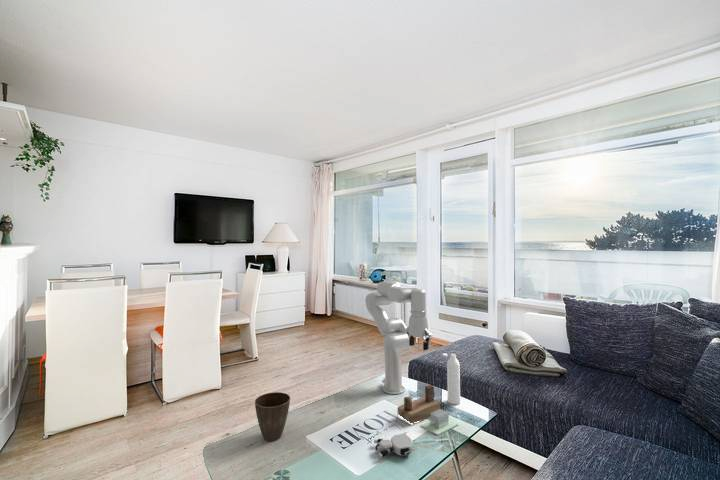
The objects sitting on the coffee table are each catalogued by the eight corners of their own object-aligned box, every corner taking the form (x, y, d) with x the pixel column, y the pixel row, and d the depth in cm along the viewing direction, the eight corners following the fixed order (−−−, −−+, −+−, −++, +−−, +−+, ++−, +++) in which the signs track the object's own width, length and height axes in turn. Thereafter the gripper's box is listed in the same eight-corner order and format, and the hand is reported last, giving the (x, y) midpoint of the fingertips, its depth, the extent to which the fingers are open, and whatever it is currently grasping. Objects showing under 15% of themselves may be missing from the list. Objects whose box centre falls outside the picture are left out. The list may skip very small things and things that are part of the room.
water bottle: (458, 399, 182) (458, 352, 182) (461, 404, 175) (460, 356, 176) (442, 399, 182) (441, 352, 183) (444, 404, 176) (443, 355, 176)
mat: (420, 426, 155) (420, 424, 155) (440, 416, 163) (440, 415, 163) (437, 435, 147) (437, 434, 147) (458, 425, 155) (458, 424, 155)
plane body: (397, 417, 162) (397, 392, 163) (426, 406, 174) (426, 382, 175) (411, 425, 155) (410, 398, 156) (440, 412, 167) (439, 388, 167)
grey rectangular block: (429, 424, 155) (429, 413, 155) (440, 419, 159) (439, 409, 159) (438, 429, 151) (438, 417, 151) (448, 424, 155) (448, 413, 155)
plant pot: (271, 424, 157) (271, 389, 158) (297, 432, 150) (297, 395, 151) (247, 440, 144) (247, 402, 144) (274, 450, 137) (274, 410, 137)
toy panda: (378, 465, 128) (417, 459, 130) (377, 453, 129) (416, 447, 130) (373, 446, 141) (408, 441, 143) (372, 435, 141) (407, 430, 143)
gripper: (401, 312, 179) (401, 345, 178) (426, 317, 165) (426, 353, 164) (411, 310, 183) (411, 342, 183) (436, 315, 169) (436, 350, 169)
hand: (418, 347), depth 174 cm, fingers open, 9 cm apart
